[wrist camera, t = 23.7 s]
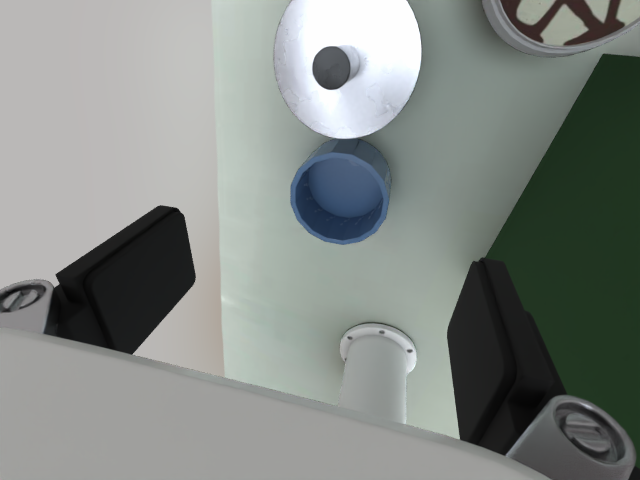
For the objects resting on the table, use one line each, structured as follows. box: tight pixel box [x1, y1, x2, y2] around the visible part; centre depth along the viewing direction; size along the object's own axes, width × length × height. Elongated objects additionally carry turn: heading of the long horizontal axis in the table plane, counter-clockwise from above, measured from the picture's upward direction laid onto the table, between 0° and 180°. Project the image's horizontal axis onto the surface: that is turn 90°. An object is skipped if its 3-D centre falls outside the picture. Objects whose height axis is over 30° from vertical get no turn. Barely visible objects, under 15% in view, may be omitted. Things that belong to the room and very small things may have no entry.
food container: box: [482, 0, 640, 57], centre depth 25 cm, size 12×6×10 cm, turn 75°
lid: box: [274, 0, 422, 139], centre depth 24 cm, size 12×12×6 cm
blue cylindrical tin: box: [291, 138, 391, 245], centre depth 39 cm, size 11×11×6 cm
